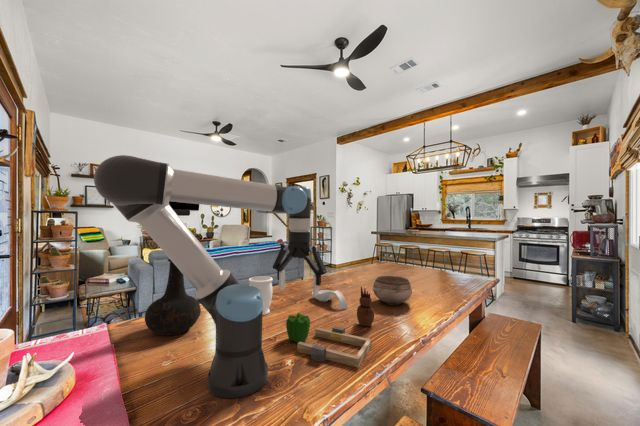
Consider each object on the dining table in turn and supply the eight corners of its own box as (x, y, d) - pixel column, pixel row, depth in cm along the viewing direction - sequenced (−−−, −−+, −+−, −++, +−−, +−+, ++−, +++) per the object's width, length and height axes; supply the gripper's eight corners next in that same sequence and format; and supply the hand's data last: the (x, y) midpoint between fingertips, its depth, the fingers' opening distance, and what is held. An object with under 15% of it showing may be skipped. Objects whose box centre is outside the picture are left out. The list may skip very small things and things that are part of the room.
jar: (266, 317, 115) (267, 282, 115) (243, 315, 117) (244, 280, 117) (275, 309, 125) (276, 276, 125) (254, 307, 127) (255, 275, 127)
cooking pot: (395, 294, 152) (396, 272, 152) (424, 304, 135) (424, 279, 136) (360, 301, 139) (360, 277, 139) (387, 313, 123) (387, 285, 123)
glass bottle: (132, 336, 95) (134, 256, 96) (175, 318, 112) (177, 250, 112) (171, 345, 89) (172, 259, 90) (210, 325, 106) (211, 252, 106)
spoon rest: (307, 298, 143) (307, 284, 143) (325, 295, 150) (326, 282, 150) (333, 312, 123) (334, 296, 123) (354, 308, 130) (354, 292, 130)
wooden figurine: (354, 324, 109) (354, 286, 110) (362, 320, 114) (362, 284, 114) (368, 329, 105) (369, 290, 105) (376, 325, 109) (377, 287, 109)
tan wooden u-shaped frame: (356, 371, 76) (356, 358, 76) (294, 354, 85) (294, 342, 85) (373, 344, 93) (373, 334, 93) (319, 332, 101) (319, 322, 101)
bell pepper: (287, 334, 99) (288, 306, 99) (310, 334, 99) (310, 307, 99) (283, 345, 91) (284, 315, 91) (308, 346, 91) (309, 315, 91)
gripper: (336, 232, 94) (335, 294, 93) (275, 229, 104) (274, 284, 104) (327, 233, 87) (326, 300, 87) (263, 229, 97) (262, 289, 97)
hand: (298, 292), depth 95 cm, fingers open, 13 cm apart
